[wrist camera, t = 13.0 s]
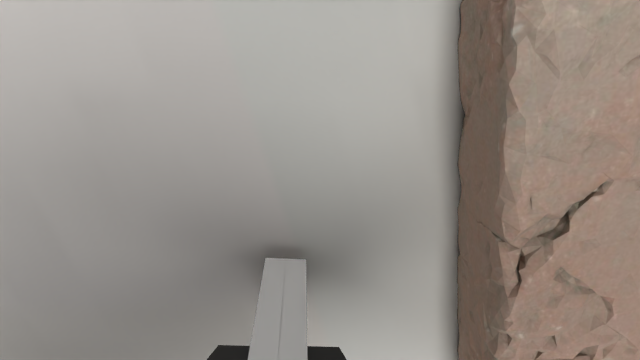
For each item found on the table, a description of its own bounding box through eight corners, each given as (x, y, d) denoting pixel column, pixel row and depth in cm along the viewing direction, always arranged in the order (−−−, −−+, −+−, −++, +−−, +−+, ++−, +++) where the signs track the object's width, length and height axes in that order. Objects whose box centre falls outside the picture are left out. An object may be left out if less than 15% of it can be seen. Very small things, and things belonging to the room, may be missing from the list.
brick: (447, -24, 11) (543, -68, 6) (722, -65, 11) (1015, -139, 6) (447, 363, 17) (495, 476, 13) (621, 341, 17) (731, 447, 12)
